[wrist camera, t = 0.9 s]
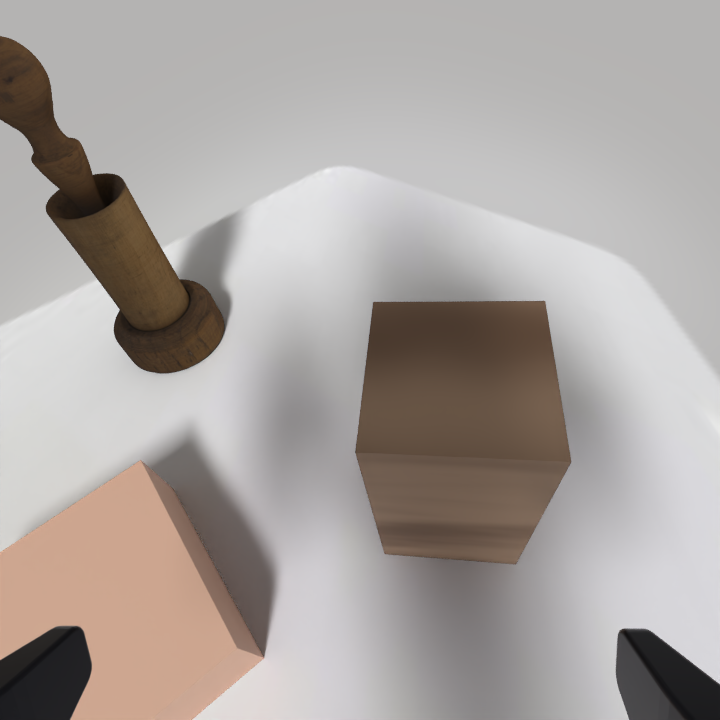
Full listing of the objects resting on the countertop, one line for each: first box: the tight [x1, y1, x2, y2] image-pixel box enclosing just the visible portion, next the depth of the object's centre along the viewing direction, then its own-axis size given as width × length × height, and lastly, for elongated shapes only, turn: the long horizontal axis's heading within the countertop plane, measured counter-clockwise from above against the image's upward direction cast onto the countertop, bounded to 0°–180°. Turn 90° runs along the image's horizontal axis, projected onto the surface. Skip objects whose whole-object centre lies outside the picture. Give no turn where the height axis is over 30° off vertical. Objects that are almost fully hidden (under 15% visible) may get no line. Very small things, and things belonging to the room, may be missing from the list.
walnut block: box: [355, 301, 571, 564], centre depth 20 cm, size 6×6×11 cm
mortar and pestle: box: [0, 36, 224, 373], centre depth 26 cm, size 7×6×18 cm
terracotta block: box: [0, 460, 264, 720], centre depth 21 cm, size 10×10×4 cm
